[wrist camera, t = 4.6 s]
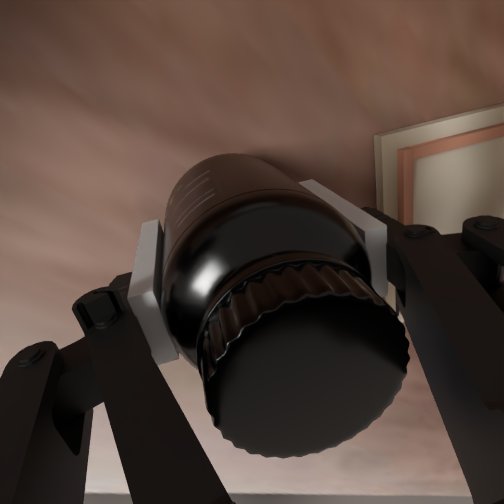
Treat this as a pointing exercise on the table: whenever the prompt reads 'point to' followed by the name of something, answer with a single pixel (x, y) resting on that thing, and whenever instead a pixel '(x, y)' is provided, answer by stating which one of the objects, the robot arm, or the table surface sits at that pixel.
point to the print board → (442, 172)
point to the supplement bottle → (276, 309)
